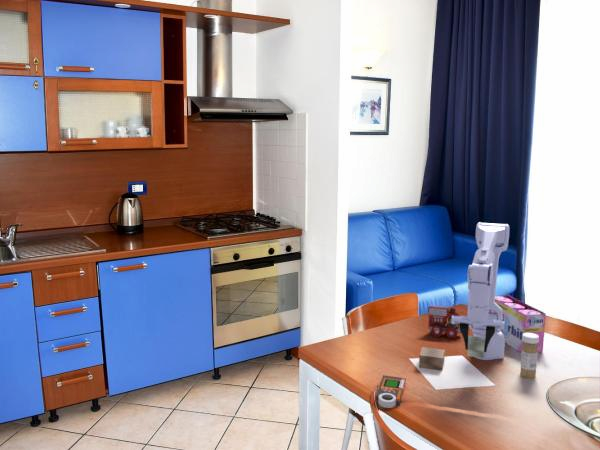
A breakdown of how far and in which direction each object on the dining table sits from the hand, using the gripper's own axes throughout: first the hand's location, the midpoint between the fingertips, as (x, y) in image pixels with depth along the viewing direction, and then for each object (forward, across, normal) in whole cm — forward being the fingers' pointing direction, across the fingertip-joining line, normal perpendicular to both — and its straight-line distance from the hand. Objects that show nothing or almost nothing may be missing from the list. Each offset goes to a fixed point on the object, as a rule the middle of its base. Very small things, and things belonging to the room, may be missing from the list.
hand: (475, 349), depth 163 cm
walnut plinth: (+9, -13, +6) cm, 17 cm away
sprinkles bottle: (+10, +15, +8) cm, 20 cm away
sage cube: (+1, 0, 0) cm, 1 cm away
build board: (+10, -7, +3) cm, 13 cm away
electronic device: (+10, -22, -17) cm, 30 cm away
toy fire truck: (+10, -12, +37) cm, 40 cm away
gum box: (+10, +12, +39) cm, 42 cm away
